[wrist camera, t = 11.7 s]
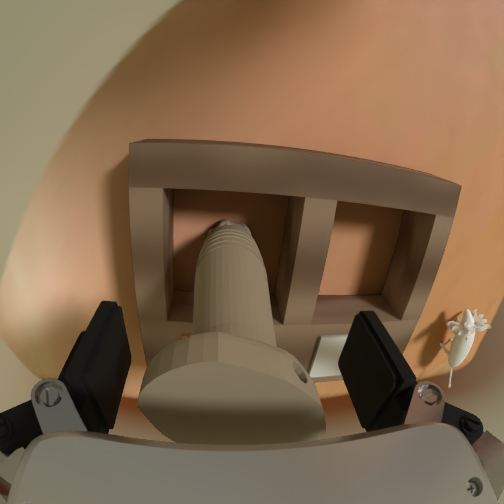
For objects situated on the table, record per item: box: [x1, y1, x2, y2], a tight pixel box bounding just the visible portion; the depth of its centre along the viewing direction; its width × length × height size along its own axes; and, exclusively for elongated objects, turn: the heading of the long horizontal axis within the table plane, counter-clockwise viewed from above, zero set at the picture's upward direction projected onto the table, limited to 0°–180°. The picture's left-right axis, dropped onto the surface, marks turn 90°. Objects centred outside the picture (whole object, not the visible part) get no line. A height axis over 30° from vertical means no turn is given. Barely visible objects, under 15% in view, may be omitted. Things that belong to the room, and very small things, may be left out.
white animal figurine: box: [439, 309, 491, 388], centre depth 27 cm, size 12×5×5 cm, turn 8°
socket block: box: [129, 139, 461, 382], centre depth 21 cm, size 18×22×4 cm
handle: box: [138, 219, 326, 445], centre depth 15 cm, size 5×6×15 cm
